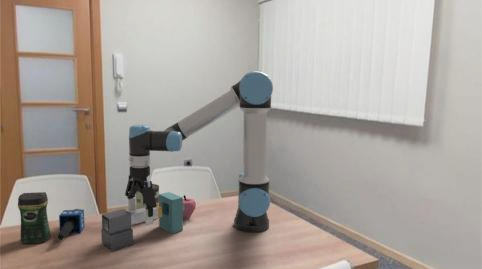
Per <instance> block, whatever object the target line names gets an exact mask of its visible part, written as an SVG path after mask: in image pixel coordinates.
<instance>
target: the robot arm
mask: <svg viewBox="0 0 482 269" xmlns="http://www.w3.org/2000/svg"><path fill="white" fill-rule="evenodd" d="M273 90H274V86H273V82H272V79H271V78H270V77H269V76H268V74H266V73H265V72H262V71H260V70H259V71H257V70H254V71H249V72H247V73H246V74H245V75H243V76H242V77H241V79H240V80H239V81H238V82H236V83H235V84H233V85H232V86H230V90H229V91H228V90H227V92H225V93H224V94H222V95H220V96H218V97H217V98H215V99H214V100H212V101H210V102H209V103H206V104H205V105H204V106H202V107H200V108H199V109H197V110H195V111H194V112H192V113H190V114H189V115H187V116H185V117H184V118H182V119H181V120H178V121H177V122H176V123H174V124H173V125H171V126H168V127H167V128H166V129H164V130H151V129H150V125H147V124H134V125H131V126H129V130H128V131H129V133H128V134H129V135H128V145H129V146H128V148H129V152H128V154H129V158H128V161H129V175H128V180H127V185H126V188H125V193H124V195H125V197H126V198H127V200H128V204H127V205H128V207H127V209H128V210H127V211H132V210H136V192H137V191H138V190H139V191H140V193H142V196H143V199H144V201H145V204H146V208H145V214H146V221H145V226H151V225H153V224H154V220H153V208H155V207H157V204H156V200H155V196H154V192H153V188H152V184H153V181H152V180H149V181H148V177H149V176H150V175H151V166H150V165H151V152H155V151H156V152H171V153H172V152H180V151H182V147H183V141H184V140H186V139H188V138H189V137H191V136H193V135H194V134H196V133H198V132H199V131H201V130H203V129H204V128H206V127H208V126H210V125H211V124H213V123H214V122H216V121H218V120H220V119H221V118H222V117H224V116H226V115H228V114H230V113H231V112H233V111H234V110H236V109H238V108H239V109H240V111H242V112H243V131H242V132H243V135H242V136H243V138H242V141H243V142H242V143H243V147H242V152H243V153H242V172H241V173H239V174H238V180H237V181H238V195H237V196H238V197H237V200H238V201H237V202H238V204H237V206H238V207H237V211H236V214H235V217H234V219H233V227H234V228H235V229H236V230H238V231H240V232H241V231H242V232H246V233H260V232H264V231H266V230H268V229H269V227H270V219H269V217H268V210H269V209H270V205H271V197H270V178H269V177H268V176H267V174H266V170H267V169H266V166H267V165H266V164H267V163H266V161H267V158H266V156H267V121H268V120H267V117H268V116H267V114H268V112H269V111H270V110H271V108H272V94H273Z"/></svg>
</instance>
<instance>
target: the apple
mask: <svg viewBox="0 0 482 269" xmlns="http://www.w3.org/2000/svg"><path fill="white" fill-rule="evenodd" d="M182 197H183V220H186V219H190V218H191V216H192V215H193V213H194V211H195V210H196V207H197V204H196V203H197V202H196V200H195V199H192V198H187V197H186V194H185V195H183V196H182Z"/></svg>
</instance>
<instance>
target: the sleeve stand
mask: <svg viewBox="0 0 482 269" xmlns="http://www.w3.org/2000/svg"><path fill="white" fill-rule="evenodd" d="M103 217H104V218H106V219H108V229H109V231H107V230H105V229H104V228H103ZM101 226H102V228H101V230H100V231H101V232H100V234H101V245H102V246H103V247H105V248H106V249H107V250H108V251H109V252H110V253H111V252H114V251H115V252H116V251H117V250H121V249H125V248H128V247H131V246H134V229H133V228H132V226H133V225H131V213H130V212H128V210H127V209H124V208H122V209H118V210H115V211H114V210H113V211H109V212H106V213H102V214H101Z"/></svg>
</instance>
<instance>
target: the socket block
mask: <svg viewBox="0 0 482 269" xmlns="http://www.w3.org/2000/svg"><path fill="white" fill-rule="evenodd" d="M183 199H184V197H183V196H180V195H177V194H174V193H172V192H170V191H167V192H163V193H159V206H161V207H162V217H160V218H158V224H159V228H161V229H163V230H165V231H167V232H168V233H171V234H177V233H179V232H182V231H184V227H183V226H184V222H183V221H184V219H183Z"/></svg>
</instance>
